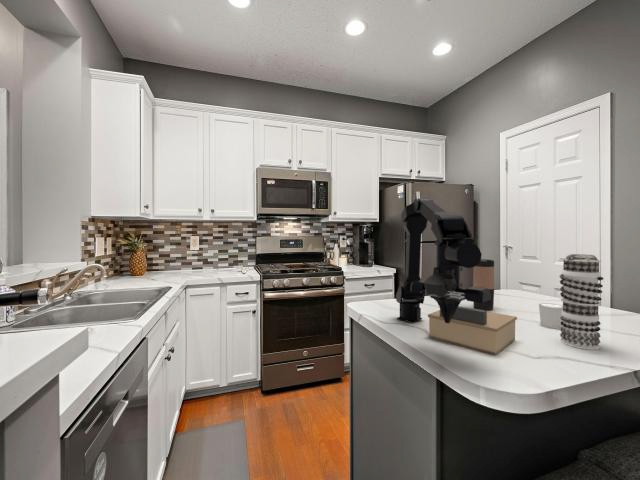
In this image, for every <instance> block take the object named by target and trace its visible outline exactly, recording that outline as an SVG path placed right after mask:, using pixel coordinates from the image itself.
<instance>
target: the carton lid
mask: <svg viewBox="0 0 640 480" xmlns="http://www.w3.org/2000/svg"><path fill="white" fill-rule="evenodd" d="M429 317H430V318H434V319H439V320H443V321H444V318H443V315H442V312H441V309H440V308H439V310H437V311H434V312H431V313H428V314H427V318H429ZM517 318H518V317H517V316H515V315H510V314H503V313H498V312H493V311H485V310H479V309H474V307H473V308H472V307H467V306H466V307H465V306H461V305H459V306H458V307H457V309H456V311H455V313H454V315H453V317H452V320H451V322H452V323H457V324H462V325H466V326H471V327H475V328H480V329H484V330H489V331H493V332H498V331H499V330H501V329H502V328H504V327H506V326H507V325H509V324H510V323H512V322H514V321H515V322H516V321H517V320H518V319H517Z"/></svg>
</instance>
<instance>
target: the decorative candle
mask: <svg viewBox="0 0 640 480" xmlns="http://www.w3.org/2000/svg"><path fill="white" fill-rule="evenodd" d="M562 260H563V266H562V267H563V269H562V273H561V274H560V275H559V278H560V279H561V280H559V283H560V284H561V285H562V286H561V287H560V288H559V289H560V291H561V292H560V294H559V295H560V297H562V298H560V301H561V302H562V306H563V310H562V316H561V317H560V318H561V320H563V321H562V322H561V325H562V327H561V328H560V329H559V330H560V334H559V335H560V339H559V340H560V342H561V343H562V344H564V345H566V346H570V347H573V348H577V349H582V350H591V351H593V350H594V351H595V350H599V349H600V348H601V346H600V343H601V340H600V338H601V334H600V332H599V331H601V322H600V315H599V306H601V302H600V301H602V300H603V299H602V297H600V296H599V295H601V294H602V293H603V291H602V290H601V288H603V284H601V283H599V282H600V281H602V280H604V276H603V277H602V276H601V271H600V263H601V260H599V259H598V258H597V256H596V255H593V254H586V253H585V254H580V253H576V254H575V253H573V254H571V253H569V254H567V256H566V257H565V258H564V259H562Z"/></svg>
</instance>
